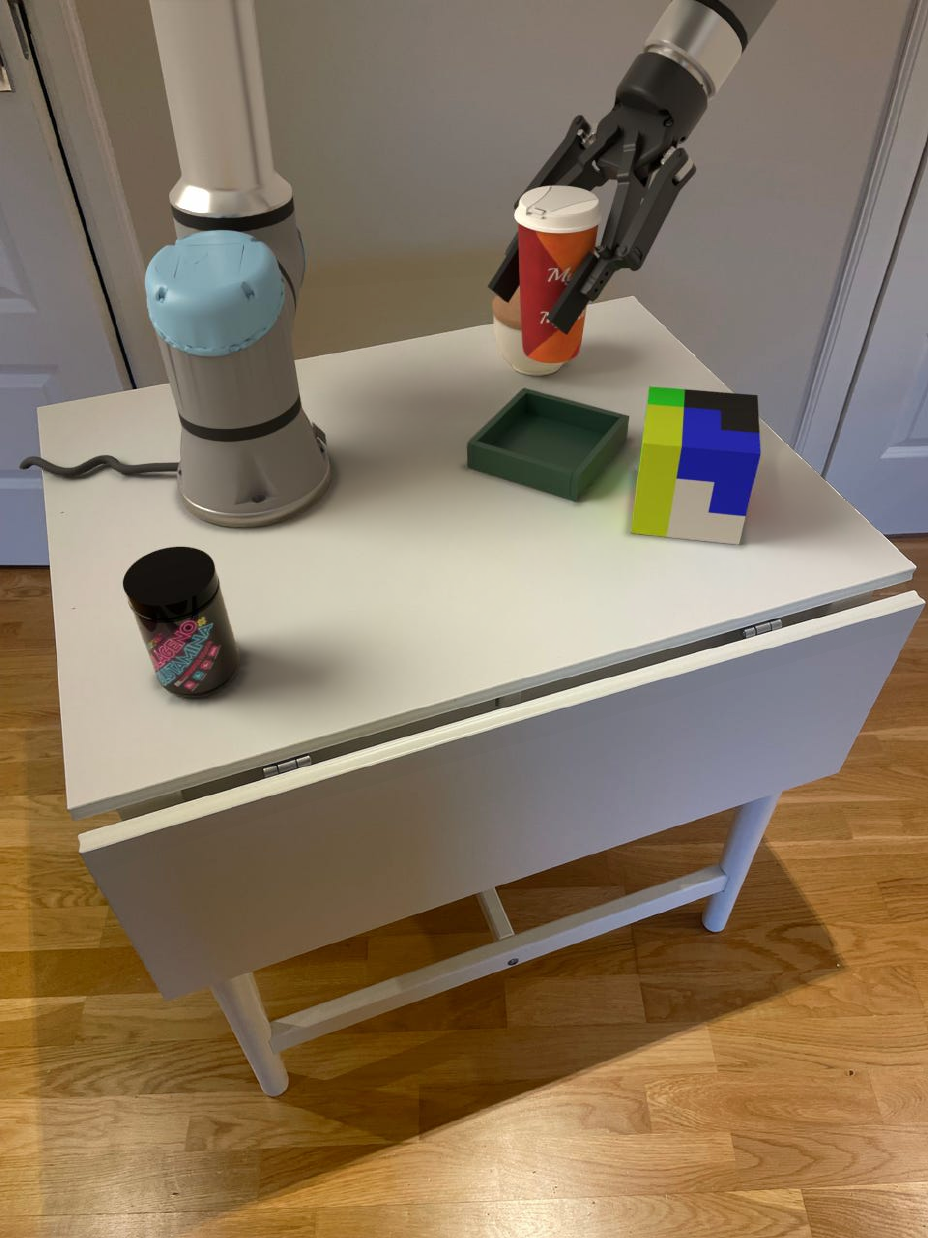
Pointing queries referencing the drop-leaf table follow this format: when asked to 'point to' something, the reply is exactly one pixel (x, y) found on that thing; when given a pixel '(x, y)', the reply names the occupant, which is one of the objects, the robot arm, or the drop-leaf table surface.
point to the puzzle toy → (696, 464)
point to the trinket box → (515, 337)
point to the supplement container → (183, 620)
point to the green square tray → (548, 443)
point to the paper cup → (552, 264)
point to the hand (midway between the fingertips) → (526, 309)
